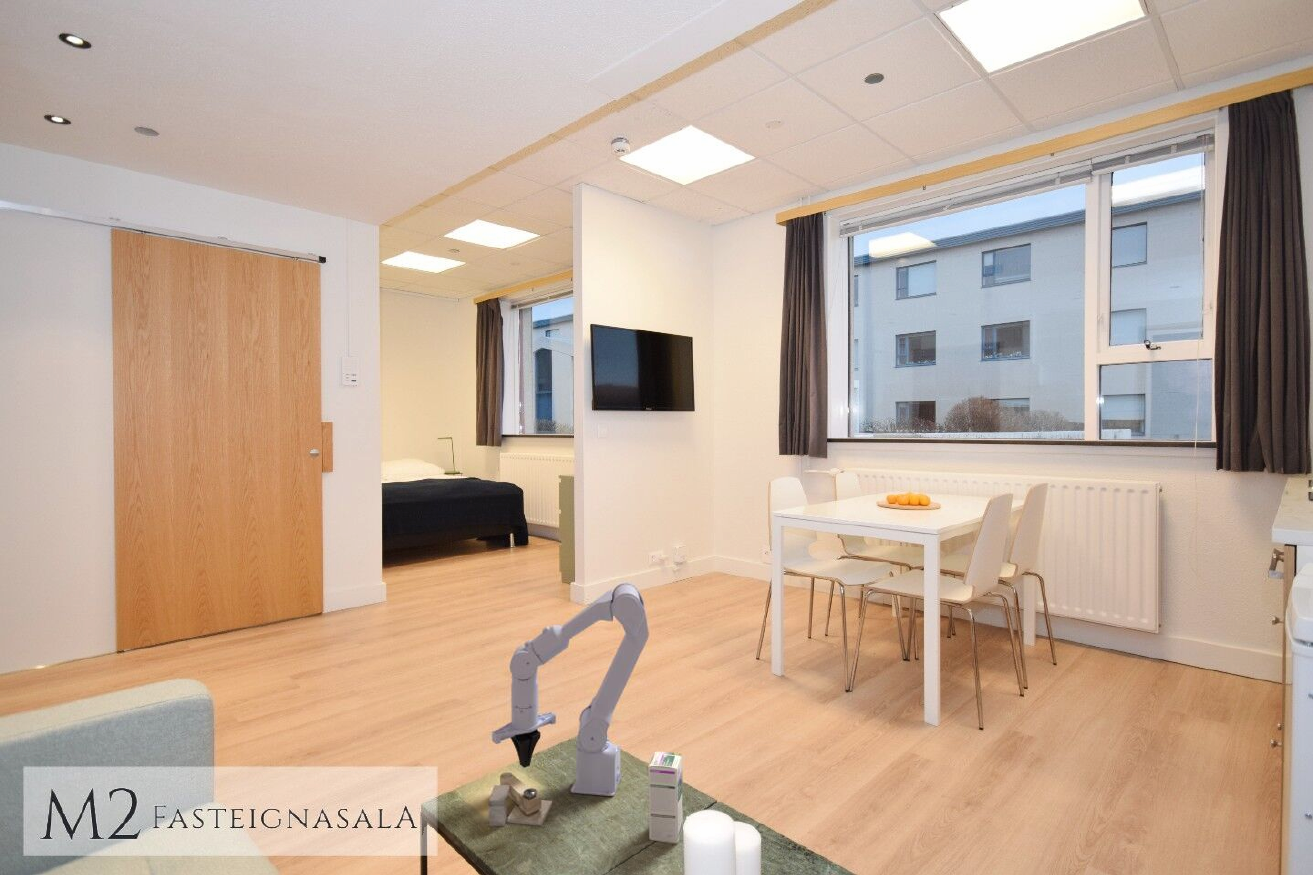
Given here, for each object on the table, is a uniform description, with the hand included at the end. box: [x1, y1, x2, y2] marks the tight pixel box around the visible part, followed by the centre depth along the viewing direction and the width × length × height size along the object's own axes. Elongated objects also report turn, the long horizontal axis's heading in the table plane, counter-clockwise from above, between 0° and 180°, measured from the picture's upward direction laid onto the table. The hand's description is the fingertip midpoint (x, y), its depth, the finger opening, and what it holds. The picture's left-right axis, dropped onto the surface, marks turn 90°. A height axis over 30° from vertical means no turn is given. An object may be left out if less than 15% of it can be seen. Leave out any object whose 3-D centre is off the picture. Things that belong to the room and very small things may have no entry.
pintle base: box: [506, 787, 553, 827], centre depth 131 cm, size 7×7×4 cm
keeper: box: [488, 784, 509, 827], centre depth 130 cm, size 3×5×5 cm, turn 3°
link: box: [499, 772, 542, 815], centre depth 135 cm, size 13×3×2 cm, turn 41°
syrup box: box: [647, 751, 684, 844], centre depth 125 cm, size 6×6×14 cm
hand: (524, 764), depth 140 cm, fingers closed
